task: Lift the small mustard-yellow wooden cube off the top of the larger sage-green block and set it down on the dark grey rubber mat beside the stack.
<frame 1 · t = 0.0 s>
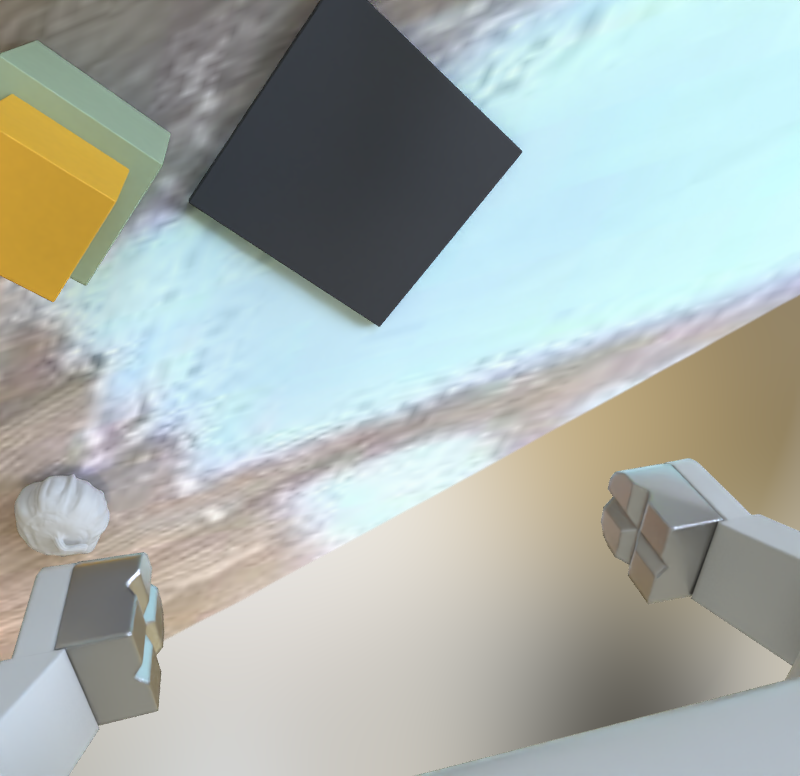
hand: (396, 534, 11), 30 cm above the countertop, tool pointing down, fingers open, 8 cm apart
garlic: (70, 491, 45), on the countertop
mat: (360, 173, 38), on the countertop
base block: (74, 146, 34), on the countertop, touching top cube
top cube: (45, 181, 28), point 7 cm above the countertop, touching base block
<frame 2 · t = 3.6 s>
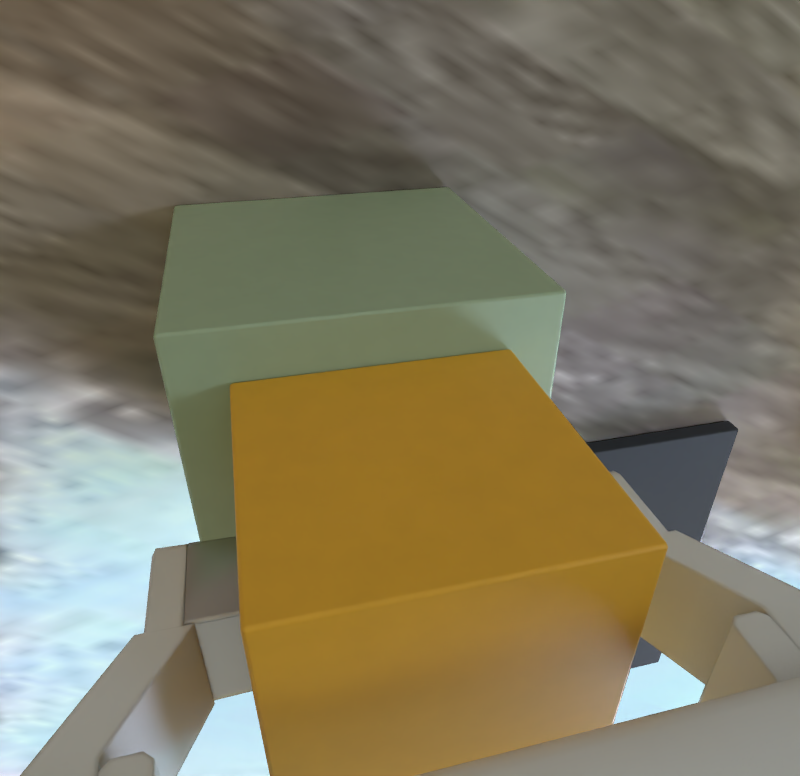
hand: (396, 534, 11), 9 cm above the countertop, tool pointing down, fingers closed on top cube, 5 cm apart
mat: (536, 581, 27), on the countertop
base block: (325, 319, 18), on the countertop, touching top cube
top cube: (378, 475, 13), point 7 cm above the countertop, touching base block, gripper
when the fingers open (2 cm above the countertop, at t = 11.7 s): top cube stays where it is, resting on mat.
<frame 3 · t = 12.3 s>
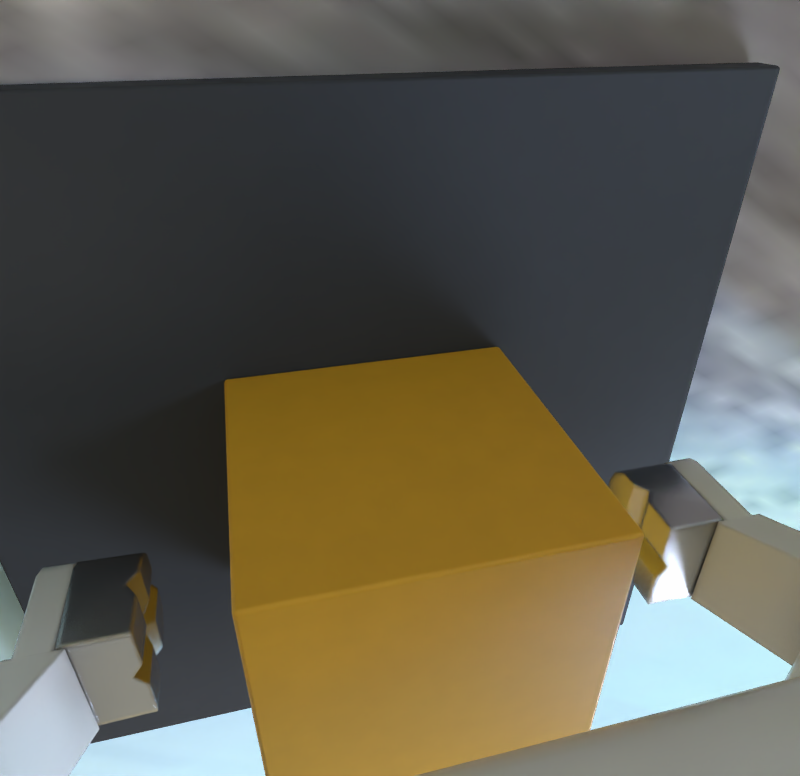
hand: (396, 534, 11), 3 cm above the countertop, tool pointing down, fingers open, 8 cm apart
mat: (365, 449, 13), on the countertop
top cube: (370, 469, 13), point 1 cm above the countertop, touching mat
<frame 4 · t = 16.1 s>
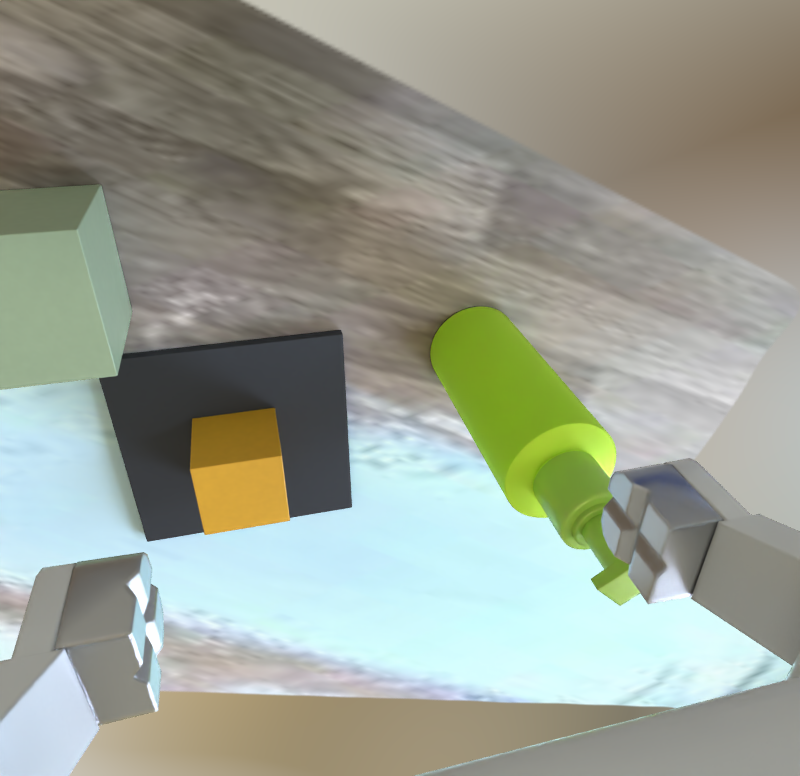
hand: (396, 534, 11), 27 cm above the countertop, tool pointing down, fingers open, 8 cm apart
mat: (239, 438, 42), on the countertop
base block: (45, 257, 33), on the countertop
top cube: (239, 444, 41), point 1 cm above the countertop, touching mat
soap dispenser: (477, 340, 42), on the countertop
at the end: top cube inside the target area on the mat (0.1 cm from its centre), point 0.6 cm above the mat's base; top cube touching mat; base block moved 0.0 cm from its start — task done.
